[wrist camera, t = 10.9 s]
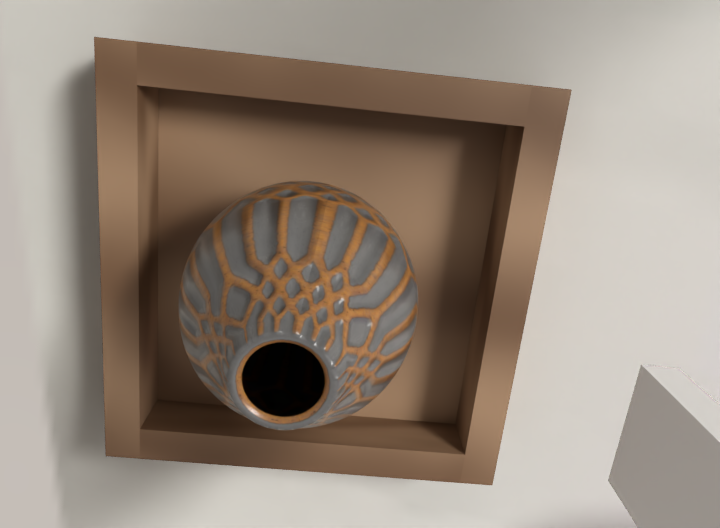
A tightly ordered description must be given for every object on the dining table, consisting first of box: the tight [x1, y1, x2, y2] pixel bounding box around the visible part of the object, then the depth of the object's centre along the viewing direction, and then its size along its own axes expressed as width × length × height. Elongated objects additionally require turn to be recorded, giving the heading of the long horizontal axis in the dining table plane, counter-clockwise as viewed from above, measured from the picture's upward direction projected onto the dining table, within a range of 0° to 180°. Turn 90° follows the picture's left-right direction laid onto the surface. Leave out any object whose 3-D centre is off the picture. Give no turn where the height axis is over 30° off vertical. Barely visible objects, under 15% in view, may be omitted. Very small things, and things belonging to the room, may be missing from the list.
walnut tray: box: [94, 37, 571, 485], centre depth 20 cm, size 14×14×3 cm
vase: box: [179, 181, 418, 430], centre depth 16 cm, size 7×7×9 cm
